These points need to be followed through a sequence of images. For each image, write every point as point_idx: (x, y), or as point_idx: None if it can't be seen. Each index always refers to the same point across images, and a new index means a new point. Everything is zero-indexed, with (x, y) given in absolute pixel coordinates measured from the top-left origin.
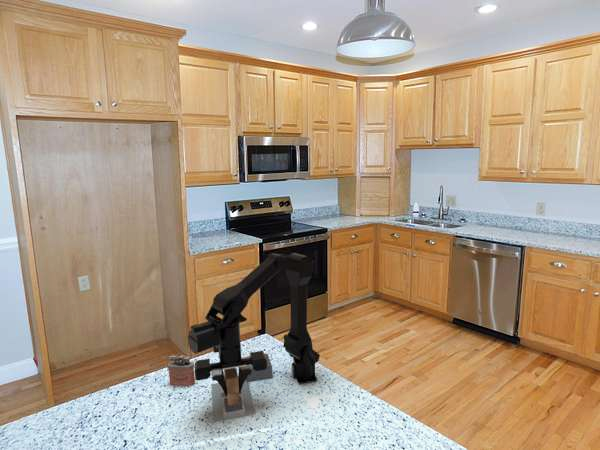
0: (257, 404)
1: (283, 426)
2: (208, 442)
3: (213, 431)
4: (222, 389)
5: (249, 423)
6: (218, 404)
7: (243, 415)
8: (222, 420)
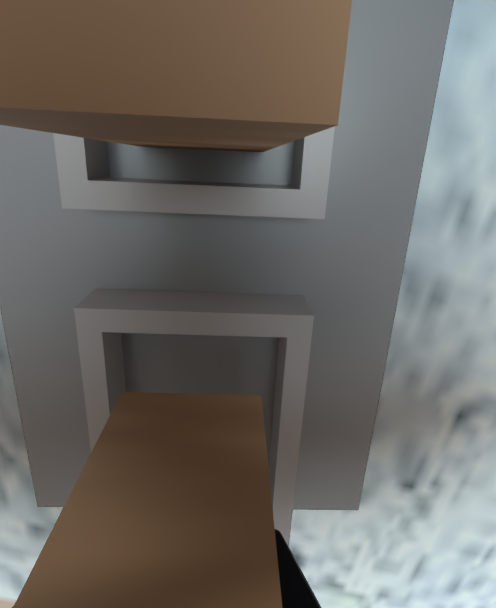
0: (410, 355)
1: (479, 587)
2: None
3: None
4: None
5: (294, 522)
6: (60, 312)
7: None
8: None
